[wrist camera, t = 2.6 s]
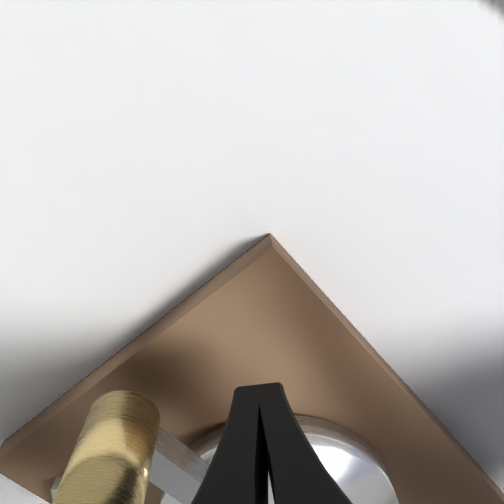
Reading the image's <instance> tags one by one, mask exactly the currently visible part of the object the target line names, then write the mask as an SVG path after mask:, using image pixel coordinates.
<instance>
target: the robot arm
mask: <svg viewBox="0 0 504 504" xmlns="http://www.w3.org/2000/svg"><path fill="white" fill-rule="evenodd" d="M268 472H269V477H270V482H271V488H272V493H273V499H274V504H353V503H352V502H351V501H350V500H349V498H348V497H347V496H346V495H345V493H344V492H343V491H342V489H341V488H340V487H339V485H338V484H337V483H336V481H335V480H334V479H333V477H332V476H331V475H330V473H329V472H328V470H327V469H326V467H325V466H324V465H323V463H322V462H321V460H320V458H319V457H318V455H317V454H316V452H315V451H314V449H313V448H312V446H311V444H310V443H309V441H308V439H307V437H306V436H305V434H304V432H303V430H302V429H301V427H300V425H299V423H298V421H297V419H296V417H295V415H294V413H293V411H292V409H291V407H290V405H289V402H288V400H287V397H286V394H285V391H284V388H283V385H282V384H281V383H279V382H274V383H266V384H257V385H249V386H240V387H237V388H236V389H235V390H234V394H233V399H232V404H231V408H230V411H229V415H228V418H227V421H226V425H225V427H224V430H223V433H222V436H221V438H220V441H219V444H218V447H217V449H216V452H215V454H214V456H213V459H212V461H211V463H210V465H209V468H208V470H207V472H206V475H205V477H204V479H203V481H202V483H201V485H200V487H199V489H198V491H197V493H196V495H195V497H194V499H193V501H192V502H191V504H268Z"/></svg>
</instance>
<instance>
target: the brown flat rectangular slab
mask: <svg viewBox="0 0 504 504" xmlns="http://www.w3.org/2000/svg"><path fill="white" fill-rule="evenodd" d="M274 382H279V383H281V384H282V385H283V388H284V391H285V394H286V397H287V400H288V402H289V405H290V407H291V409H292V411H293V413H294V415H298V416H308V417H313V418H319V419H323V420H326V421H330V422H333V423H336V424H338V425H341V426H343V427H345V428H347V429H350V430H351V431H353V432H355V433H356V434H358V435H359V436H361V437H362V438H364V439H365V440H366V441H367V442H368V443H370V444H371V445H372V447H373V448H374V449H375V450H376V451H377V452H378V453H379V455H380V457H381V458H382V460H383V462H384V464H385V466H386V469H387V472H388V474H389V477H390V480H391V483H392V485H393V488H394V491H395V493H396V496H397V499H398V502H399V504H504V493H503V492H502V491H501V490H500V489H499V488H498V486H497V485H496V484H495V483H494V482H493V481H492V480H491V479H490V478H489V476H488V475H487V474H486V473H485V472H484V471H483V470H482V469H481V468H480V466H479V465H478V464H477V463H476V462H475V461H474V460H473V459H472V458H471V456H470V455H469V454H468V453H467V452H466V451H465V450H464V449H463V447H462V446H461V445H460V444H459V443H458V442H457V441H456V440H455V439H454V437H453V436H452V435H451V434H450V433H449V432H448V431H447V430H446V429H445V427H444V426H443V425H442V424H441V423H440V422H439V421H438V420H437V419H436V417H435V416H434V415H433V414H432V413H431V412H430V411H429V410H428V408H427V407H426V406H425V405H424V404H423V403H422V402H421V401H420V400H419V398H418V397H417V396H416V395H415V394H414V393H413V392H412V391H411V390H410V388H409V387H408V386H407V385H406V384H405V383H404V382H403V381H402V380H401V378H400V377H399V376H398V375H397V374H396V373H395V372H394V371H393V369H392V368H391V367H390V366H389V365H388V364H387V363H386V362H385V361H384V359H383V358H382V357H381V356H380V355H379V354H378V353H377V352H376V351H375V349H374V348H373V347H372V346H371V345H370V344H369V343H368V342H367V341H366V339H365V338H364V337H363V336H362V335H361V334H360V333H359V332H358V330H357V329H356V328H355V327H354V326H353V325H352V324H351V323H350V322H349V320H348V319H347V318H346V317H345V316H344V315H343V314H342V313H341V312H340V310H339V309H338V308H337V307H336V306H335V305H334V304H333V303H332V302H331V300H330V299H329V298H328V297H327V296H326V295H325V294H324V293H323V291H322V290H321V289H320V288H319V287H318V286H317V285H316V284H315V283H314V281H313V280H312V279H311V278H310V277H309V276H308V275H307V274H306V273H305V271H304V270H303V269H302V268H301V267H300V266H299V265H298V264H297V263H296V261H295V260H294V259H293V258H292V257H291V256H290V255H289V254H288V253H287V251H286V250H285V249H284V248H283V247H282V246H281V245H280V244H279V242H278V241H277V240H276V239H275V238H274V237H273V236H272V235H271V234H268V235H267V236H266V237H265V238H263V239H262V240H261V241H260V242H258V243H257V244H256V245H254V246H253V247H252V248H251V249H249V250H248V251H247V252H246V253H244V254H243V255H242V256H240V257H239V258H238V259H237V260H235V261H234V262H233V263H231V264H230V265H229V266H228V267H226V268H225V269H224V270H223V271H221V272H220V273H219V274H217V275H216V276H215V277H214V278H212V279H211V280H210V281H209V282H207V283H206V284H205V285H203V286H202V287H201V288H200V289H198V290H197V291H196V292H195V293H193V294H192V295H191V296H189V297H188V298H187V299H186V300H184V301H183V302H182V303H180V304H179V305H178V306H177V307H175V308H174V309H173V310H172V311H170V312H169V313H168V314H166V315H165V316H164V317H163V318H161V319H160V320H159V321H158V322H156V323H155V324H154V325H152V326H151V327H150V328H149V329H147V330H146V331H145V332H143V333H142V334H141V335H140V336H138V337H137V338H136V339H135V340H133V341H132V342H131V343H129V344H128V345H127V346H126V347H124V348H123V349H122V350H121V351H119V352H118V353H117V354H115V355H114V356H113V357H112V358H110V359H109V360H108V361H106V362H105V363H104V364H103V365H101V366H100V367H99V368H98V369H96V370H95V371H94V372H92V373H91V374H90V375H89V376H87V377H86V378H85V379H84V380H82V381H81V382H80V383H78V384H77V385H76V386H75V387H73V388H72V389H71V390H69V391H68V392H67V393H66V394H64V395H63V396H62V397H61V398H59V399H58V400H57V401H55V402H54V403H53V404H52V405H50V406H49V407H48V408H47V409H45V410H44V411H43V412H41V413H40V414H39V415H38V416H36V417H35V418H34V419H32V420H31V421H30V422H29V423H27V424H26V425H25V426H24V427H22V428H21V429H20V430H18V431H17V432H16V433H15V434H13V435H12V436H11V437H10V438H8V439H7V440H6V441H4V442H3V444H2V445H1V447H0V473H1V474H2V475H4V476H6V477H7V478H9V479H11V480H12V481H14V482H16V483H17V484H19V485H21V486H22V487H24V488H26V489H27V490H29V491H31V492H32V493H34V494H35V495H37V496H39V497H40V498H42V499H44V500H45V501H47V502H49V503H50V504H52V502H53V499H54V497H55V494H56V492H57V489H58V487H59V484H60V482H61V479H62V477H63V475H64V472H65V470H66V467H67V465H68V462H69V460H70V457H71V455H72V452H73V450H74V447H75V445H76V442H77V440H78V437H79V435H80V432H81V430H82V427H83V425H84V423H85V420H86V418H87V415H88V413H89V410H90V408H91V406H92V404H93V402H94V401H95V400H96V399H97V398H99V397H100V396H102V395H104V394H106V393H109V392H113V391H132V392H136V393H139V394H141V395H143V396H145V397H147V398H148V399H150V400H151V401H152V402H153V403H154V404H155V405H156V407H157V408H158V410H159V413H160V426H161V427H162V428H163V429H165V430H166V431H167V432H169V433H170V434H171V435H172V436H174V437H175V438H176V439H178V440H179V441H180V442H182V443H183V444H184V445H186V446H187V447H189V446H190V445H191V444H193V443H194V442H195V441H196V440H198V439H199V438H201V437H203V436H204V435H206V434H208V433H210V432H211V431H214V430H216V429H218V428H220V427H223V426H225V425H226V421H227V418H228V415H229V411H230V408H231V404H232V399H233V394H234V390H235V389H236V388H237V387H240V386H249V385H257V384H266V383H274ZM161 492H162V490H161V489H160V488H158V487H157V486H156V485H154V484H153V483H151V482H150V481H148V486H147V491H146V496H145V501H144V504H160V498H161Z"/></svg>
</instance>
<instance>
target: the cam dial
mask: <svg viewBox="0 0 504 504" xmlns="http://www.w3.org/2000/svg"><path fill="white" fill-rule="evenodd" d="M295 417H296V419H297V421H298V423H299V425H300V427H301V429H302V430H303V432H304V434H305V436H306V437H307V439H308V441H309V443H310V444H311V446H312V448H313V449H314V451H315V452H316V454H317V455H318V457H319V458H320V460H321V462H322V463H323V465H324V466H325V467H326V469H327V470H328V472H329V473H330V475H331V476H332V477H333V479H334V480H335V481H336V483H337V484H338V485H339V487H340V488H341V489H342V491H343V492H344V493H345V495H346V496H347V497H348V498H349V500H350V501H351V502H352V503H353V504H399V502H398V499H397V496H396V493H395V491H394V488H393V485H392V483H391V480H390V477H389V474H388V472H387V469H386V466H385V464H384V462H383V460H382V458H381V457H380V455H379V453H378V452H377V451H376V450H375V449H374V448H373V447H372V445H371V444H370V443H368V442H367V441H366V440H365V439H364V438H362V437H361V436H359V435H358V434H356V433H355V432H353V431H351V430H350V429H347V428H345V427H343V426H341V425H338V424H336V423H333V422H330V421H326V420H323V419H319V418H313V417H308V416H298V415H295ZM224 427H225V426H223V427H220V428H218V429H216V430H214V431H211V432H210V433H208V434H206V435H204V436H203V437H201V438H199V439H198V440H196V441H195V442H194V443H193V444H191V445H190V446H189V447H187V446H186V445H184V444H183V443H182V442H180V441H179V440H178V439H176V438H175V437H174V436H172V435H171V434H170V433H169V432H167V431H166V430H165V429H163V428H162V427H161V426H160V413H159V410H158V408H157V407H156V405H155V404H154V403H153V402H152V401H151V400H150V399H148V398H147V397H145V396H143V395H141V394H139V393H136V392H132V391H113V392H109V393H106V394H104V395H102V396H100V397H99V398H97V399H96V400H95V401H94V402H93V404H92V406H91V408H90V410H89V413H88V415H87V418H86V420H85V423H84V425H83V427H82V430H81V432H80V435H79V437H78V440H77V442H76V445H75V447H74V450H73V452H72V455H71V457H70V460H69V462H68V465H67V467H66V470H65V472H64V475H63V477H62V479H61V482H60V484H59V487H58V489H57V492H56V494H55V497H54V499H53V502H52V504H144V501H145V496H146V491H147V486H148V481H150V482H151V483H153V484H154V485H156V486H157V487H158V488H160V489H161V490H162V492H161V498H160V504H191V502H192V501H193V499H194V497H195V495H196V493H197V491H198V489H199V487H200V485H201V483H202V481H203V479H204V477H205V475H206V472H207V470H208V468H209V465H210V463H211V461H212V459H213V456H214V454H215V452H216V449H217V447H218V444H219V441H220V438H221V436H222V433H223V430H224ZM268 504H274V499H273V493H272V488H271V482H270V477H269V472H268Z"/></svg>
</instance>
